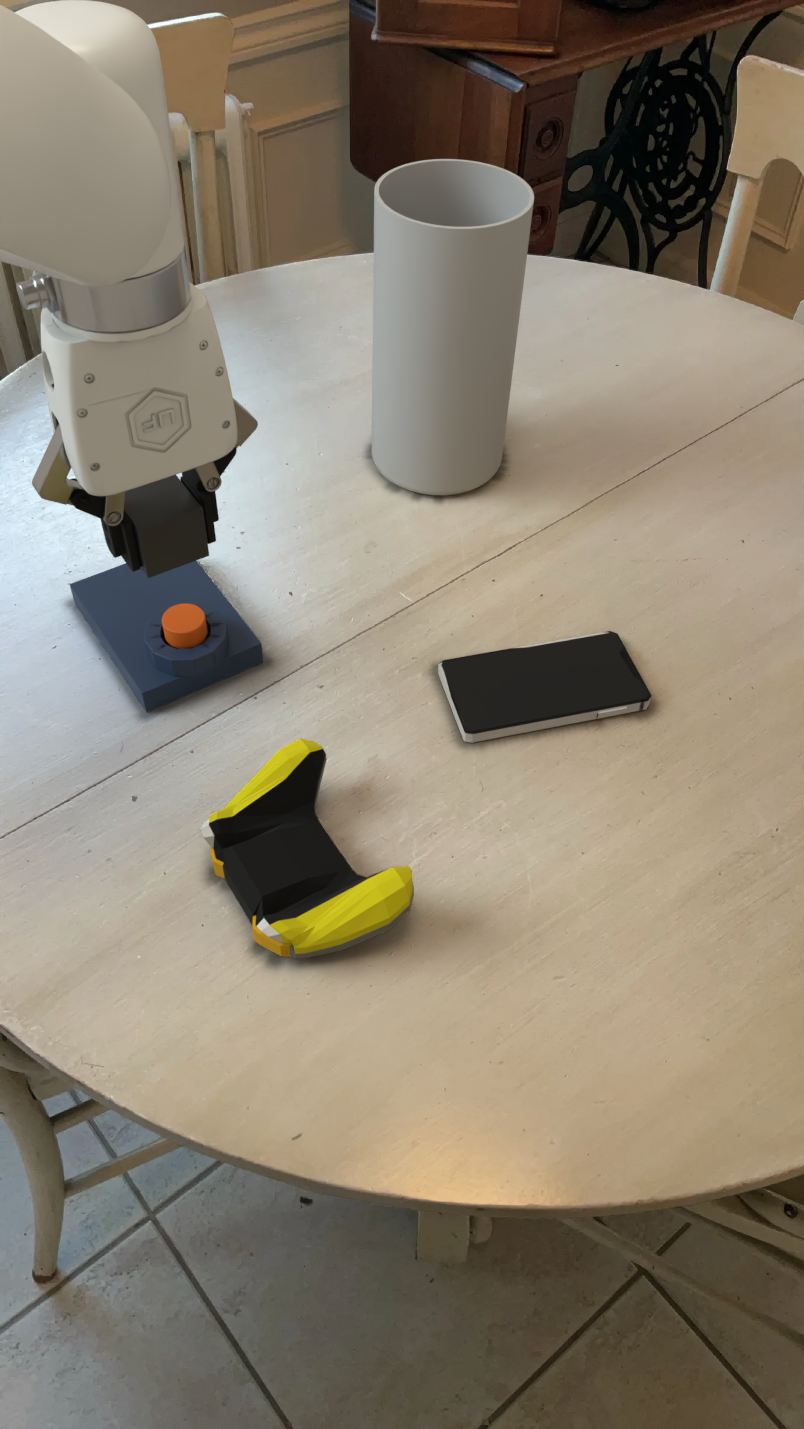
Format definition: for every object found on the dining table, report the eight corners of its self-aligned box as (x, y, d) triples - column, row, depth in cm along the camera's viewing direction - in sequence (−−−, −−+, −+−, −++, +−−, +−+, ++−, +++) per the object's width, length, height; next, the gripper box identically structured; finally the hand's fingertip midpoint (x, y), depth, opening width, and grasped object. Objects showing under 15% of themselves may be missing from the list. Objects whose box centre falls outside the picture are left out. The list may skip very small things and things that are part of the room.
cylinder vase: (528, 466, 101) (567, 200, 82) (429, 516, 95) (446, 244, 76) (442, 407, 107) (460, 146, 88) (345, 451, 102) (342, 183, 83)
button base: (266, 666, 83) (263, 630, 80) (149, 717, 79) (141, 681, 76) (185, 561, 90) (179, 525, 87) (74, 603, 87) (64, 567, 84)
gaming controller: (313, 770, 76) (186, 829, 73) (310, 721, 72) (175, 780, 68) (425, 928, 68) (288, 1003, 64) (429, 883, 64) (283, 961, 60)
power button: (214, 639, 79) (212, 622, 78) (176, 655, 78) (173, 638, 77) (196, 614, 81) (193, 597, 80) (157, 629, 80) (154, 612, 79)
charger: (148, 578, 68) (138, 530, 65) (120, 540, 70) (110, 492, 67) (212, 554, 70) (205, 506, 67) (183, 518, 72) (176, 470, 69)
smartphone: (436, 659, 82) (615, 628, 85) (436, 670, 83) (612, 638, 86) (466, 736, 77) (655, 700, 80) (465, 747, 78) (651, 711, 81)
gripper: (-16, 356, 51) (64, 625, 65) (291, 273, 57) (304, 534, 71) (-63, 289, 55) (22, 556, 69) (229, 218, 61) (253, 475, 75)
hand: (165, 542), depth 70 cm, fingers closed on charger, 4 cm apart
